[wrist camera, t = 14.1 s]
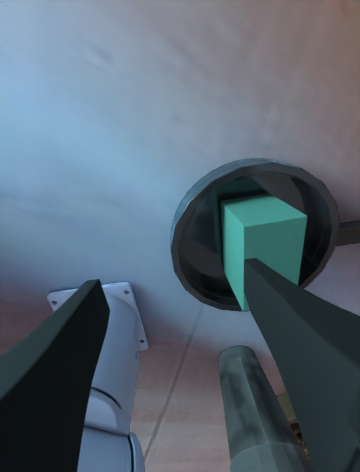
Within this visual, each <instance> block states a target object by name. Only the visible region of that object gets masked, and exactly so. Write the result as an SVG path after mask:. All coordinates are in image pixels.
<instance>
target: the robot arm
mask: <svg viewBox="0 0 360 472" xmlns="http://www.w3.org/2000/svg"><path fill="white" fill-rule="evenodd" d="M125 290H128V291H129V292H126V291H125ZM244 294H245V297H246V300H247V303H248V306H249V309H250V311H251V313H252V315H253V317H254V319H255V321H256V323H257V325H258V327H259V329H260V331H261V333H262V335H263V337H264V339H265V341H266V343H267V345H268V347H269V349H270V351H271V353H272V355H273V358H274V360H275V362H276V365H277V367H278V370H279V372H280V375H281V378H282V380H283V383H284V385H285V388H286V391H287V394H288V396H289V399H290V402H291V404H292V407H293V410H294V413H295V416H296V418H297V421H298V424H299V427H300V430H301V433H302V436H303V438H304V442H305V445H306V448H307V451H308V454H309V457H310V460H311V463H312V466H313V469H314V472H360V316H358V315H356V314H354V313H351V312H349V311H347V310H344V309H342V308H340V307H338V306H335V305H333V304H331V303H329V302H327V301H325V300H323V299H321V298H319V297H317V296H315V295H313V294H312V293H310V292H308V291H306V290H305V289H303V288H301V287H299V286H298V285H296V284H295V283H293V282H291V281H290V280H288V279H287V278H285V277H284V276H282V275H281V274H279V273H278V272H276V271H275V270H273V269H272V268H270V267H269V266H267V265H266V264H265V263H263V262H262V261H260V260H259V259H257V258H251V259H244ZM47 299H48V301H49V303H50V305H51V307H52V309H53V311H54V313H53V314H52V315H50V316H49V317H48V318H47V319H46V320H45V321H44V322H43V323H42V324H40V325H39V326H38V327H37V328H36V329H35V330H33V331H32V332H31V333H30V334H29V335H27V336H26V337H25V338H24V339H22V340H21V341H20V342H18V343H17V344H16V345H15V346H13V347H12V348H11V349H9V350H8V351H6V352H5V353H4V354H2V355H1V356H0V472H145V464H144V458H143V454H142V449H141V445H140V442H139V439H138V437H137V436H136V435H135V434H133V433H131V432H129V429H130V420H131V412H132V408H133V404H134V395H135V386H136V377H137V368H138V359H139V351H142V350H146V349H148V341H147V338H146V334H145V331H144V327H143V324H142V320H141V317H140V313H139V310H138V306H137V303H136V299H135V296H134V293H133V289H132V286H131V284H130V283H129V282H120V283H112V284H105V285H101V282H100V279H96V280H89V281H86V282H85V283H84V284H83V285H82V286H81V287H80V288H77V289H70V290H63V291H56V292H50V293H49V294H48V296H47ZM55 301H56V302H55Z"/></svg>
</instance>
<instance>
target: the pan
mask: <svg viewBox="0 0 360 472" xmlns="http://www.w3.org/2000/svg"><path fill="white" fill-rule="evenodd" d="M266 193H270V194H272V195H274V196H275V197H277V198H279V199H280V200H282V201H284V202H285V203H287V204H289V205H290V206H292V207H294V208H295V209H297V210H298V211H300V212H302V213H303V214H305V215H307V224H306V231H305V238H304V245H303V252H302V259H301V267H300V274H299V281H298V286H299V287H301V288H303V289H305V288H306V287H307V286H308V285H309V284H310V283H311V282H312V281H313V280H314V279H315V278H316V277H317V276H318V275H319V274H320V273H321V272H322V270H323V269H324V267H325V266H326V264H327V262H328V260H329V259H330V257H331V255H332V253H333V252H334V249H335V244H336V239H337V235H338V230H339V226H340V224H339V218H338V211H337V205H336V202H335V200H334V199H333V197H332V195H331V194H330V192H329V191H328V189H327V188H326V186H325V184H324V183H323V182H322V181H320V180H319V179H317V178H316V177H314V176H313V175H311V174H310V173H308V172H307V171H305V170H304V169H302V168H300V167H297V166H294V165H291V164H289V163H285V162H280V161H276V160H271V159H265V158H251V159H243V160H238V161H234V162H231V163H228V164H225V165H223V166H221V167H219V168H217V169H215V170H213V171H211V172H210V173H208V174H207V175H205V176H204V177H202V178H201V179H200V180H199V181H198V182H197V183H195V184H194V185H193V187H192V188H191V189H190V190H189V191H188V192H187V193H186V195H185V196H184V198H183V199H182V201H181V202H180V204H179V206H178V208H177V210H176V213H175V216H174V219H173V223H172V228H171V236H170V247H171V256H172V261H173V267H174V271H175V274H176V275H177V277H178V279H179V280H180V282H181V283H182V285H183V287H184V288H185V290H187V291H188V292H189V293H190V294H192V295H193V296H194V297H195V298H196V299H198V300H199V301H200V302H202V303H204V304H207V305H210V306H212V307H215V308H218V309H221V310H230V311H240V312H243V310H242V308H241V306H240V304H239V302H238V300H237V298H236V296H235V294H234V292H233V290H232V288H231V286H230V283H229V281H228V279H227V277H226V275H225V273H224V261H223V241H222V221H221V201H223V200H229V199H235V198H242V197H248V196H254V195H260V194H266Z"/></svg>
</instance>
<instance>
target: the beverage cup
mask: <svg viewBox="0 0 360 472" xmlns="http://www.w3.org/2000/svg"><path fill="white" fill-rule="evenodd" d="M218 361H219V370H220V373H219V374H220V382H221V389H222V397H223V405H224V412H225V420H226V428H227V435H228V443H229V451H230V458H231V465H230V472H314V469H313V466H312V463H311V462H310V460H309V458H308V457H307V455H306V453H305V451H304V450H303V449H302V448H301V447H300V444H299V442H298V440H297V438H296V436H295V434H294V432H293V430H292V428H291V426H290V424H289V422H288V420H287V418H286V416H285V414H284V412H283V410H282V408H281V405H280V403H279V401H278V399H277V397H276V395H275V393H274V391H273V389H272V387H271V385H270V383H269V381H268V379H267V377H266V375H265V373H264V371H263V368H262V366H261V364H260V363H259V362H258V360H257V358H256V356H255V354H254V352H253V350H252V349H250V348H248V347H245V346H234V347H230V348H228V349H226V350H225V351H223V352H222V353H221V354H220V356H219V360H218Z"/></svg>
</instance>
